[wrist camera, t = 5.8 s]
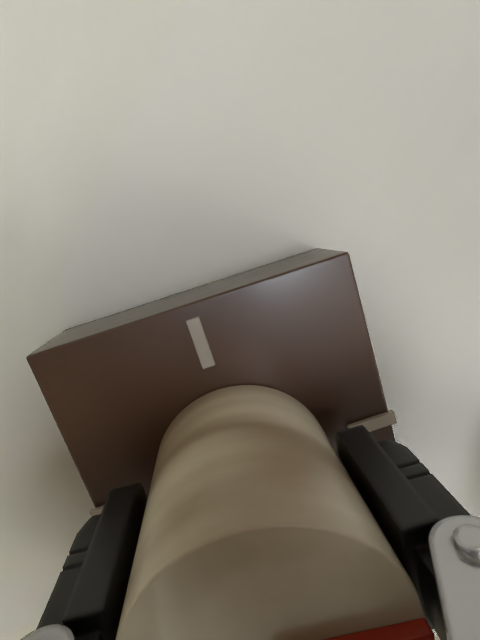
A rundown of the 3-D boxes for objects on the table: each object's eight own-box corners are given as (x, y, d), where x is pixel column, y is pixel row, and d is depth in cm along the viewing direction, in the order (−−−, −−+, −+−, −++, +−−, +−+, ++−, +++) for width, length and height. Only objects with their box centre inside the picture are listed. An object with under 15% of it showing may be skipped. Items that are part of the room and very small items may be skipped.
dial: (176, 554, 12) (148, 837, 6) (139, 403, 11) (66, 582, 5) (337, 521, 12) (448, 765, 7) (316, 369, 11) (428, 506, 6)
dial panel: (386, 492, 16) (429, 555, 13) (163, 566, 16) (152, 647, 13) (321, 246, 14) (355, 250, 10) (61, 331, 13) (17, 360, 10)
